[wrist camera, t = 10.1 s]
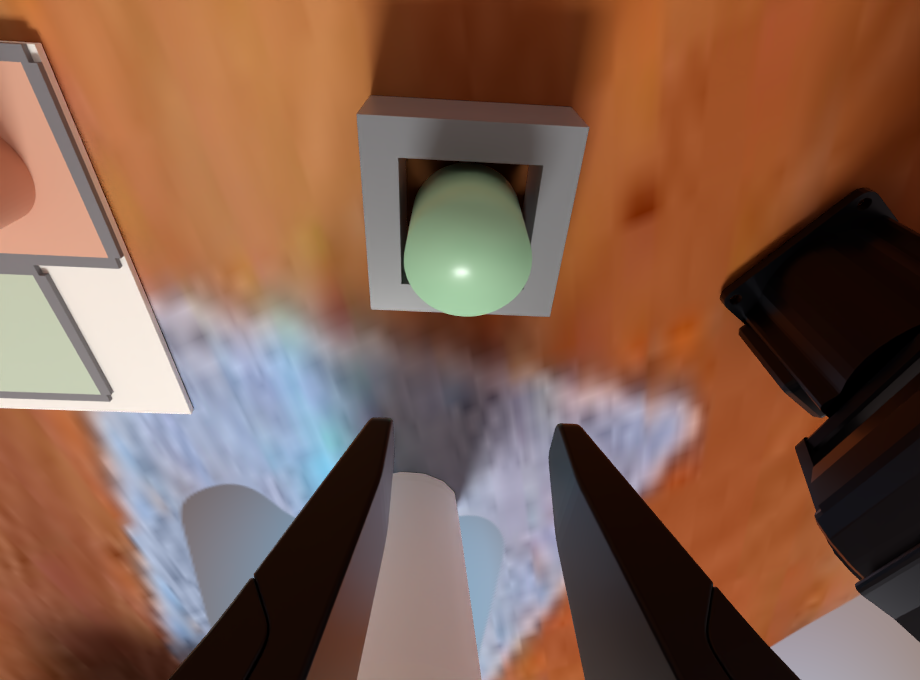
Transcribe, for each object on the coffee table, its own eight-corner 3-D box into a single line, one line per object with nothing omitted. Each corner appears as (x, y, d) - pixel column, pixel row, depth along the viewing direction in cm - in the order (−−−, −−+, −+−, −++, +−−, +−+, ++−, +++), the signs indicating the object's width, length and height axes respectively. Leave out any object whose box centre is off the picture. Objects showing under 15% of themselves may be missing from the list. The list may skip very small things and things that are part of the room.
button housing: (571, 107, 16) (589, 127, 14) (539, 280, 21) (549, 316, 19) (370, 95, 16) (356, 114, 14) (380, 273, 20) (370, 309, 18)
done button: (527, 165, 16) (541, 205, 13) (512, 267, 18) (523, 318, 16) (411, 159, 16) (402, 198, 13) (412, 262, 18) (404, 314, 15)
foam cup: (356, 440, 27) (295, 721, 17) (502, 475, 29) (527, 744, 19) (324, 525, 33) (264, 777, 22) (449, 549, 35) (446, 790, 24)
